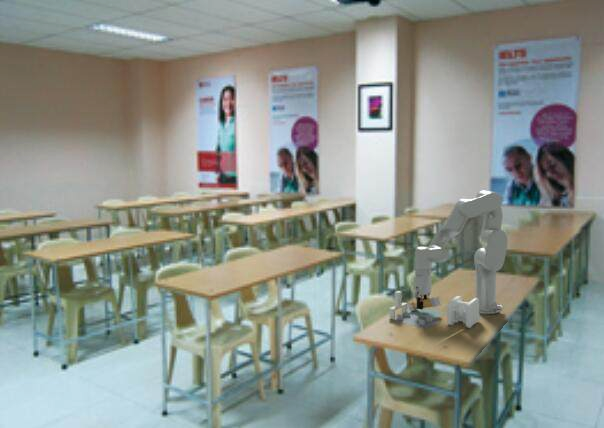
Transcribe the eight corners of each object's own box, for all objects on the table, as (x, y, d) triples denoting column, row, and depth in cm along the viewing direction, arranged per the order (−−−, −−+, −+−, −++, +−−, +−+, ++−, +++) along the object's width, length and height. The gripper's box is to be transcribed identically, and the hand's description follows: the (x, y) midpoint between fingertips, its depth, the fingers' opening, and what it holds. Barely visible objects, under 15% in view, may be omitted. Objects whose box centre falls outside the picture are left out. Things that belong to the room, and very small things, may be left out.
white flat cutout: (407, 313, 253) (407, 289, 251) (393, 319, 245) (393, 294, 243) (403, 312, 255) (402, 288, 253) (389, 318, 246) (389, 294, 245)
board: (440, 322, 241) (440, 316, 240) (425, 329, 232) (425, 323, 231) (404, 314, 255) (404, 308, 255) (389, 320, 246) (389, 315, 246)
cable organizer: (468, 330, 228) (468, 305, 227) (445, 326, 235) (445, 302, 233) (479, 321, 240) (479, 297, 239) (457, 317, 247) (457, 294, 245)
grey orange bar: (440, 305, 249) (438, 296, 249) (436, 306, 246) (433, 297, 247) (415, 309, 260) (412, 301, 260) (410, 311, 257) (408, 302, 257)
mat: (446, 314, 252) (446, 313, 252) (433, 320, 244) (433, 319, 244) (415, 307, 265) (414, 306, 265) (401, 313, 257) (401, 311, 257)
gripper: (425, 267, 260) (424, 302, 263) (406, 273, 249) (406, 310, 251) (438, 270, 255) (437, 305, 257) (420, 276, 243) (419, 313, 245)
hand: (422, 307), depth 254 cm, fingers closed on grey orange bar, 4 cm apart
